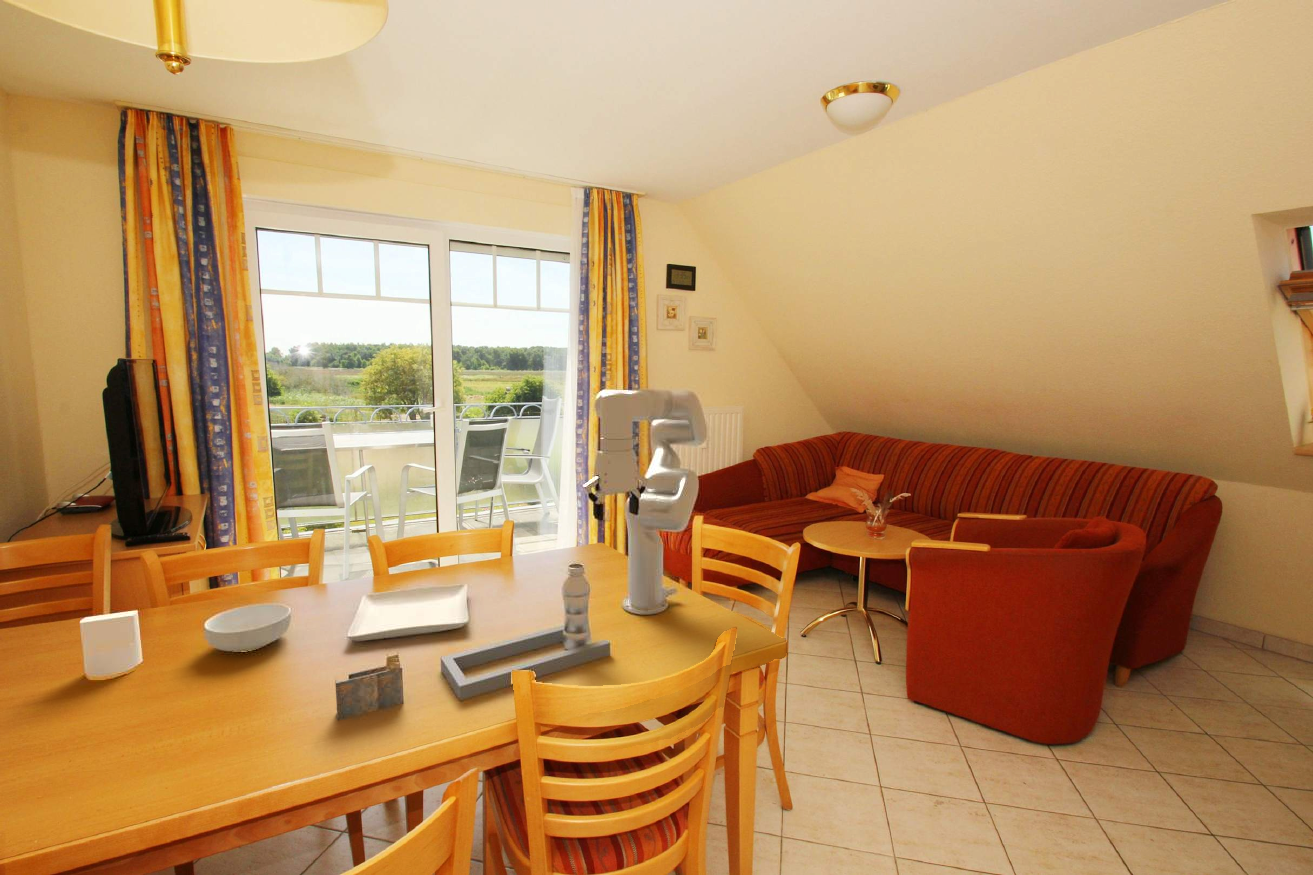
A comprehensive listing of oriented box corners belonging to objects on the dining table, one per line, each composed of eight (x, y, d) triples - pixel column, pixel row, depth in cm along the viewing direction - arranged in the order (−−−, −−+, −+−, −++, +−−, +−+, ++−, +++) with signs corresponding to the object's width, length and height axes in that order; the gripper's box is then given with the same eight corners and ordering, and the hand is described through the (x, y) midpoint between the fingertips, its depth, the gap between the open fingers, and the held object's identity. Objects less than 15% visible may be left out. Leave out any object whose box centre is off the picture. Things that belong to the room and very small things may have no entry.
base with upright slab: (78, 685, 120) (72, 628, 119) (95, 665, 128) (89, 612, 127) (135, 674, 125) (130, 620, 123) (148, 656, 132) (143, 604, 131)
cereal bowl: (302, 645, 139) (300, 616, 138) (215, 671, 126) (212, 639, 126) (280, 623, 150) (278, 596, 149) (199, 645, 138) (196, 616, 137)
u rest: (582, 632, 147) (582, 620, 146) (610, 655, 135) (610, 642, 135) (441, 670, 128) (440, 657, 127) (459, 700, 116) (459, 686, 116)
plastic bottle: (586, 656, 134) (585, 571, 132) (558, 653, 136) (557, 569, 133) (594, 643, 141) (594, 562, 138) (567, 640, 142) (567, 560, 140)
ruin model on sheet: (401, 697, 118) (399, 651, 117) (403, 704, 116) (401, 657, 114) (337, 714, 112) (334, 665, 111) (338, 722, 110) (335, 672, 109)
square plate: (467, 594, 171) (467, 581, 170) (469, 635, 145) (468, 620, 145) (364, 605, 162) (363, 591, 162) (346, 651, 137) (345, 635, 136)
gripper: (639, 440, 146) (639, 508, 149) (575, 445, 137) (576, 518, 139) (656, 444, 140) (655, 515, 142) (590, 450, 131) (591, 525, 133)
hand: (616, 516), depth 141 cm, fingers open, 9 cm apart
